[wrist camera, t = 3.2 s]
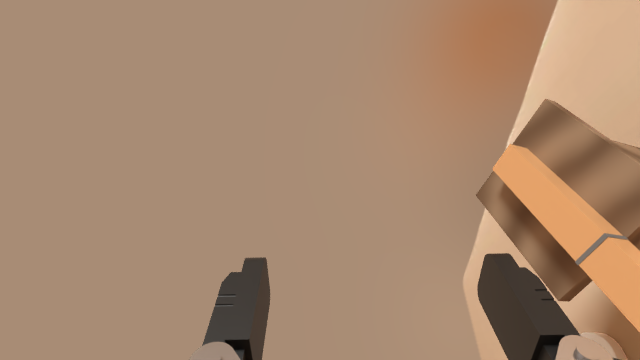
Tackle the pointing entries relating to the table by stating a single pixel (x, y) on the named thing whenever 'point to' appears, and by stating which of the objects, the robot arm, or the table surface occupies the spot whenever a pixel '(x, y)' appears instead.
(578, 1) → the table surface
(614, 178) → the shelf stand
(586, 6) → the table surface
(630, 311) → the orange bar
